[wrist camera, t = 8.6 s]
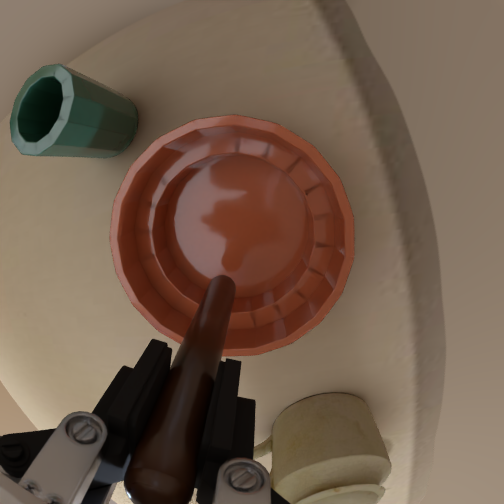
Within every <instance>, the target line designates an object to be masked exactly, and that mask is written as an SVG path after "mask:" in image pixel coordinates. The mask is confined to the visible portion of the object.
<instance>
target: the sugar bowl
mask: <svg viewBox="0 0 504 504" xmlns="http://www.w3.org/2000/svg"><path fill="white" fill-rule="evenodd" d="M271 451H272V469H271V472H270V474H269V476H270V483H271V488H272V489H273V490H275V491H276V492H277V493H278V494H279V495H281V496H282V497H283V498H284V499H286V500H287V501H288V502H289V503H291V504H376V503H378V501H380V499H381V498H382V497H383V495H384V493H385V488H384V487H382V486H381V485H382V484H383V483H384V482H385V480H386V479H387V478H388V476H389V475H390V473H391V467H392V466H391V462H390V459H389V456H388V453H387V451H386V448H385V445H384V442H383V440H382V437H381V435H380V432H379V430H378V428H377V425H376V423H375V421H374V419H373V417H372V414H371V412H370V410H369V408H368V406H367V404H366V403H365V402H364V401H362V400H361V399H359V398H358V397H356V396H353V395H349V394H343V393H328V394H320V395H316V396H312V397H309V398H306V399H303V400H301V401H298V402H296V403H295V404H293V405H291V406H290V407H288V408H287V409H285V410H284V411H283V412H282V413H281V414H280V415H279V416H278V418H277V419H276V421H275V422H274V425H273V429H272V435H271V436H270V437H269V438H268V439H267V440H265V441H264V442H262V443H261V444H259V445H257V446H255V447H254V456H253V460H255V459H257V458H259V457H262V456H264V455H266V454H268V453H269V452H271Z"/></svg>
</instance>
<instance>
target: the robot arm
mask: <svg viewBox="0 0 504 504" xmlns="http://www.w3.org/2000/svg"><path fill="white" fill-rule="evenodd" d="M167 346H168V345H167V343H166V342H162V341H159V340H155V339H152V340H151V341H150V343H149V345H148V346H147V348H146V349H145V351H144V353H143V354H142V356H141V357H140V359H139V361H138V362H137V364H136V365H135V367H134V369H133V368H130V367H127V366H123V367H122V368H121V369H120V370H119V372H118V373H117V375H116V376H115V378H114V379H113V381H112V382H111V384H110V386H109V387H108V389H107V390H106V392H105V393H104V395H103V396H102V398H101V399H100V401H99V402H98V404H97V405H96V407H95V409H94V410H93V412H92V413H89V412H83V411H78V412H73V413H71V414H69V415H67V416H66V417H65V418H64V419H63V420H62V421H61V423H60V424H59V426H58V427H57V428H55V429H48V430H41V431H33V432H24V433H13V434H7V435H3V436H0V504H108V503H109V501H110V499H111V497H112V494H113V492H114V490H115V487H116V485H117V482H120V481H123V480H124V475H125V472H126V469H127V467H128V465H129V462H130V460H131V457H132V455H133V453H134V450H135V448H136V447H137V445H138V442H139V440H140V437H141V435H142V433H143V430H144V428H145V426H146V423H147V421H148V419H149V416H150V414H151V412H152V409H153V407H154V405H155V402H156V400H157V398H158V396H159V393H160V391H161V389H162V387H163V384H164V382H165V380H166V377H167V375H168V373H169V371H170V364H171V355H172V348H169V347H167ZM240 370H241V361H236V360H232V359H228V358H226V362H223V361H219V366H218V370H217V374H216V379H215V383H214V387H213V392H212V396H211V401H210V405H209V410H208V414H207V419H206V424H205V428H204V433H203V437H202V442H201V446H200V451H199V455H198V460H197V468H198V472H197V477H196V482H195V487H194V488H197V494H196V496H197V498H196V501H197V502H198V503H199V504H291V503H289V502H288V501H287V500H286V499H284V498H283V497H282V496H281V495H279V494H278V493H277V492H276V491H275V490H273V489H272V488H271V483H270V476H269V473H268V471H267V470H266V468H265V467H264V466H263V465H261V464H260V463H259V462H257V461H255V460H253V456H254V431H255V406H256V404H255V400H252V399H247V398H242V397H237V396H238V387H239V378H240Z"/></svg>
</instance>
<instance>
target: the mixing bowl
mask: <svg viewBox="0 0 504 504" xmlns="http://www.w3.org/2000/svg"><path fill="white" fill-rule="evenodd" d="M110 245H111V250H112V256H113V261H114V266H115V271H116V273H117V276H118V278H119V280H120V282H121V284H122V286H123V288H124V290H125V292H126V294H127V295H128V297H129V299H130V301H131V303H132V304H133V306H134V307H135V308H136V309H137V310H138V311H139V312H140V313H141V314H142V315H143V316H144V318H145V319H146V320H147V321H148V322H149V323H150V324H151V325H152V326H153V327H154V328H155V329H156V330H158V331H159V332H161V333H162V334H164V335H166V336H167V337H169V338H171V339H173V340H174V341H176V342H178V343H180V344H181V343H182V341H183V339H184V337H185V334H186V332H187V330H188V328H189V326H190V324H191V321H192V319H193V317H194V315H195V313H196V311H197V308H198V306H199V304H200V302H201V300H202V298H203V296H204V294H205V291H206V289H207V287H208V285H209V283H210V281H211V280H212V279H213V278H214V277H216V276H219V275H226V276H228V277H230V278H231V279H232V280H233V281H234V282H235V285H236V294H235V298H234V303H233V307H232V312H231V316H230V321H229V326H228V330H227V335H226V339H225V344H224V349H223V353H222V356H251V355H259V354H262V353H265V352H268V351H272V350H274V349H277V348H280V347H283V346H286V345H289V344H290V343H293V342H294V341H296V340H297V339H299V338H300V337H301V336H303V335H304V334H306V333H307V332H308V331H310V330H311V329H313V328H314V327H315V326H317V325H318V324H319V323H320V322H321V321H322V320H323V319H324V317H325V316H326V315H327V313H328V312H329V311H330V309H331V308H332V307H333V305H334V304H335V303H336V301H337V300H338V298H339V297H340V296H341V294H342V292H343V290H344V287H345V284H346V281H347V278H348V275H349V272H350V269H351V266H352V263H353V260H354V216H353V213H352V210H351V207H350V204H349V201H348V198H347V195H346V193H345V190H344V187H343V184H342V182H341V180H340V178H339V176H338V175H337V174H336V173H335V171H334V170H333V169H332V168H331V166H330V165H329V164H328V163H327V161H326V160H325V159H324V158H323V156H322V155H321V154H320V153H319V151H318V150H317V149H316V148H315V147H314V146H313V145H312V144H310V143H308V142H307V141H305V140H304V139H302V138H301V137H299V136H297V135H296V134H294V133H292V132H291V131H289V130H288V129H286V128H284V127H283V126H281V125H279V124H277V123H273V122H269V121H265V120H260V119H255V118H251V117H246V116H241V115H226V116H217V117H209V118H202V119H195V120H192V121H190V122H188V123H186V124H184V125H182V126H180V127H178V128H176V129H174V130H172V131H170V132H168V133H166V134H164V135H163V136H161V137H159V138H158V139H156V140H155V141H154V142H153V143H152V144H151V145H150V146H149V147H148V148H147V149H146V150H145V151H144V152H143V153H142V154H141V155H140V156H139V157H138V158H137V160H136V161H135V162H134V163H133V164H132V165H131V166H130V168H129V170H128V172H127V174H126V176H125V178H124V180H123V182H122V184H121V187H120V189H119V191H118V193H117V195H116V198H115V200H114V203H113V211H112V219H111V227H110Z"/></svg>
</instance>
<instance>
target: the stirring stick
mask: <svg viewBox="0 0 504 504" xmlns="http://www.w3.org/2000/svg"><path fill="white" fill-rule="evenodd" d="M235 294H236V285H235V282H234V281H233V280H232V279H231V278H230V277H228V276H226V275H219V276H216V277H214V278H213V279H212V280H211V281H210V283H209V285H208V287H207V289H206V291H205V294H204V296H203V298H202V300H201V302H200V304H199V306H198V308H197V311H196V313H195V315H194V317H193V319H192V321H191V324H190V326H189V328H188V330H187V332H186V334H185V337H184V339H183V341H182V343H181V345H180V347H179V350H178V352H177V354H176V356H175V358H174V361H173V363H172V365H171V367H170V371H169V373H168V375H167V377H166V380H165V382H164V384H163V387H162V389H161V391H160V393H159V396H158V398H157V400H156V402H155V405H154V407H153V409H152V412H151V414H150V416H149V419H148V421H147V423H146V426H145V428H144V430H143V433H142V435H141V437H140V440H139V442H138V445H137V447H136V448H135V450H134V453H133V455H132V457H131V460H130V462H129V465H128V467H127V469H126V472H125V475H124V487H125V491H126V493H127V495H128V497H129V498H130V499H131V501H132V502H133V503H134V504H189V502H190V501H191V499H192V496H193V491H194V487H195V482H196V477H197V472H198V468H197V460H198V455H199V451H200V446H201V442H202V437H203V433H204V428H205V424H206V419H207V414H208V410H209V405H210V401H211V396H212V392H213V387H214V383H215V379H216V374H217V370H218V366H219V361H221V358H222V353H223V349H224V344H225V339H226V335H227V330H228V326H229V321H230V316H231V312H232V307H233V303H234V298H235Z"/></svg>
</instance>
